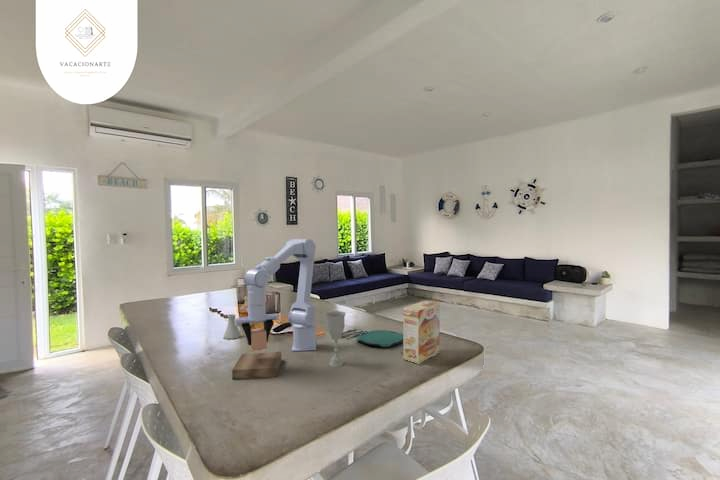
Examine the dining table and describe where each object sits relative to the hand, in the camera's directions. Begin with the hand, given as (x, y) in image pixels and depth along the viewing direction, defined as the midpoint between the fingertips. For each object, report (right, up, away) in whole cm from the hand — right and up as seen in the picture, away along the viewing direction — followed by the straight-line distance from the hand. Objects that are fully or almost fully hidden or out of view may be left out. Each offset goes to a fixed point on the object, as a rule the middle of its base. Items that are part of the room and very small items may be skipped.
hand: (257, 342), depth 120 cm
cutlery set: (+41, -8, +31) cm, 51 cm away
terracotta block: (0, -2, 0) cm, 2 cm away
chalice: (+27, -9, +4) cm, 29 cm away
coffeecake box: (+59, -8, +9) cm, 60 cm away
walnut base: (0, -9, 0) cm, 9 cm away
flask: (-22, -8, +35) cm, 42 cm away
